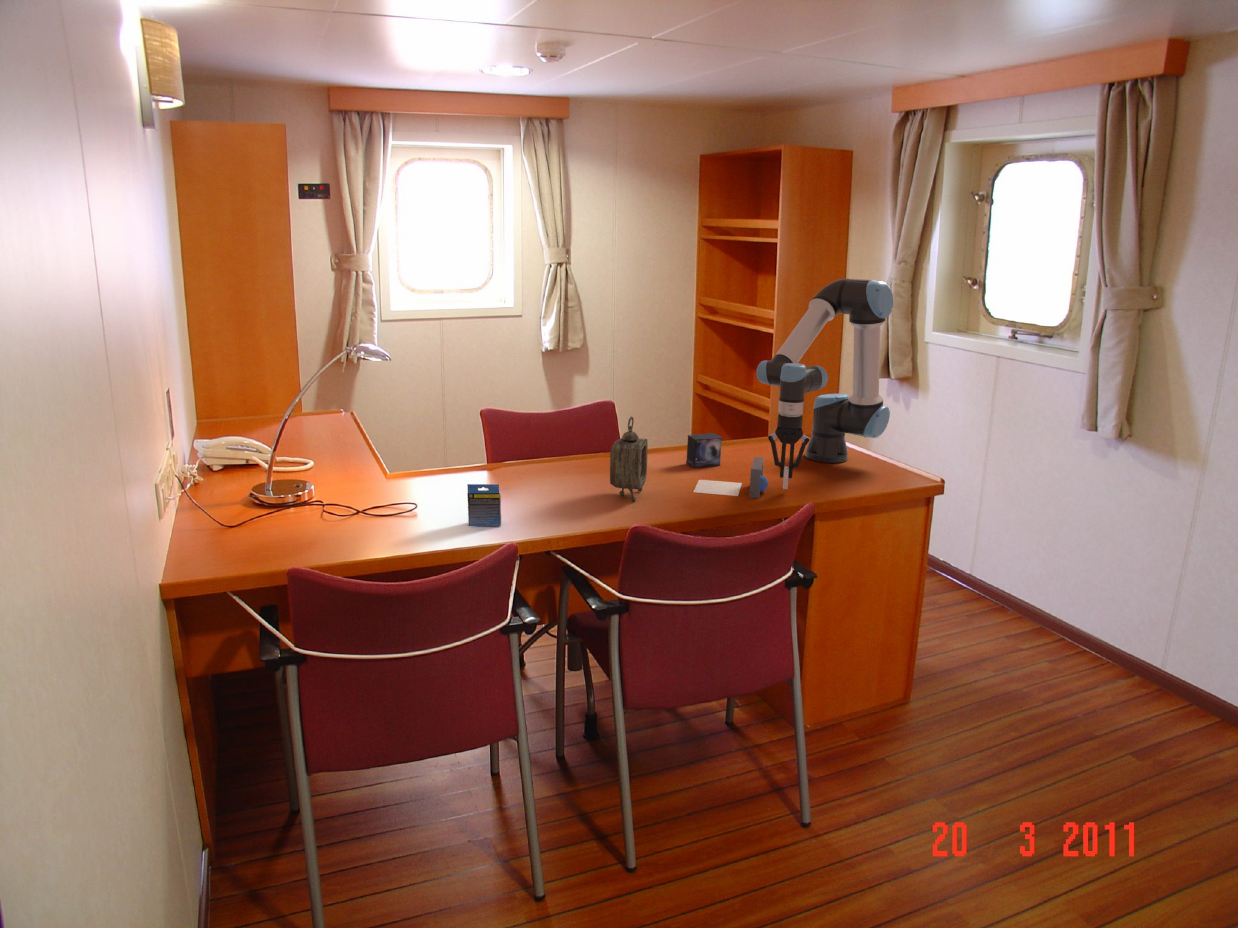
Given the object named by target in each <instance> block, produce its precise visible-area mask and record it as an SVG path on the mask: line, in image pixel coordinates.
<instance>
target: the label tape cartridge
mask: <svg viewBox="0 0 1238 928" xmlns="http://www.w3.org/2000/svg"><path fill="white" fill-rule="evenodd" d="M483 488H484V489H485V490H484V489H483ZM480 489H483V490H480ZM486 489H487V490H486ZM466 494H467V511H468V512H467V515H468V522H467V523H468V527H469V526H477V527H497V526H500V527H501V525H502V498H501V496H502V495H501V493H500V485H499V484H495V483H493V484H488V483H486V484H483V483H482V484H479V483H477V484H475V483H473V484H472V483H469V484H468V483H467V493H466Z"/></svg>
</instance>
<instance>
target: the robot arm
mask: <svg viewBox="0 0 1238 928" xmlns="http://www.w3.org/2000/svg"><path fill="white" fill-rule="evenodd" d="M893 294H894V293H893V290H892V289H891V287H890V286H889V285H888V283H886V282H885V281H878V280H875V279H861V278H860V279H856V278H846V277H845V278H841V279H836V280H834V281H832V282H830V283H827V285H825V286H824V287H822V288H821V289H820V290H819V291H818V292H816V294H815V295H814V296H813V297H812V298H811V300H810V301H809V303H808V309H807V310H806V312H805V313H804V315H803V316H802V317H801V318H800V320H799V321H798V323H797V324H796V325H795V327H794V328H793V330H792V331H791V332H790V334H789V335H788V337H787V338H786V339H785V341H784V343H783V344H782V345H781V346H780V348H779V349H778V351H777V352H776V353H775V355H773V356H772V358H771V360H768V359H767V360H762V361H760V362H759V364H758V365H757V368H756V378H757V381H759V382H760V383H761V384H764V385H768V386H776V387H779V398H778V409H777V410H778V413H779V414H778V415H777V424H776V425H777V426H776V429H775V431H774V432H772V433H769V434H767V435H768V436H767V439H768V441H769V443H770V446H771V452H772V457H773V462H774V465H775V466H776V467H779V468H780V469H779V478H781V479H782V489H783V490H788V488H789V487H788V486H789V485H788V484H789V479H792V478H793V472H794V470H793V469H794V468H799V466H800V464H801V460H802V458H803V455H805V457H806V458H807V459H808V460H810V461H813V462H814V461H815V462H819V463H830V464H831V463H832V464H837V463H844V462H846V461H848V459H849V451H848V447H847V446H848V445H847V443H846V442H847V441H846V437H845V436H846V434H849V435H853V436H859V437H864V438H870V439H871V438H872V439H877V438H879V437H880V436H881V435H883V433H884V432H885V431H886V428H887V427H888V424H889V421H890V417H891V411H890V408H889V407H888V406H886V405H884V398H883V397H882V395H881V394H879V393H880V364H881V363H880V362H881V361H880V358H881V326H883V324H884V323H886V318H888V317H889V316H890V315H891V313H892V312H893V307H894V295H893ZM840 314H842V315H848V317H849V318H848V320H849V321H848V322H849V324H851V326H853V355H852V356H853V359H852V360H853V361H852V365H853V366H852V367H853V369H852V394H851V395H850V396H849V395H848V394H845V393H827V394H821V395H818V396H816V398H815V399H814V403H813V408H812V409H813V416H812V427H811V428H812V429H811V437H809V436H807V435H805V434H804V431H803V422H804V421H803V419H804V417H803V414H804V405H805V404H804V403H805V393H810V392H816V391H818V390H821V389H823V388H824V387H825V386H826V385H827V383H828V381H829V376H828V373H827V372H828V371H827V370H826V369H825V368H824V367H823V366H820V365H811V366H806V364H803V363H799V362H800V360H801V359H802V358H803V356H804V355H805V354H806V352H807V351H808V350H809V348H810V347H811V345H812V343H814V341H815V339H816V338H817V337H818V336H819V334H820V333H821V331H822V330H823V329H824V327H825V326H826V324H827V323H828V322H830V321H833V320H834V318H835V317H836V316H837V315H840ZM776 439H778V440H779V442H780V443H781V451H780V452H781V453H780V458H779V455H778V448H777V443H776ZM800 439H801V442H802V443H801V445H800V447H799V451H798V453H797V456H796V459H795V462H794V458H795V444H796V443H798V441H800ZM787 445H790V447H789V448H790V449H789V461H788V466H785V464H786V451H787ZM804 452H805V454H804ZM779 459H780V461H779Z"/></svg>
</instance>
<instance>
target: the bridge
mask: <svg viewBox="0 0 1238 928" xmlns="http://www.w3.org/2000/svg"><path fill="white" fill-rule="evenodd" d="M764 459H765V458H764V457H760V456H759V457H758V456H754V458H753V461H752V464H751V468H750V478H749V481H750V482H749V495H748V496H749V497H748V498H750V499H751V498H753V499H760V495H761V492H760V480H761V475H763V474H764ZM763 476H764V475H763Z"/></svg>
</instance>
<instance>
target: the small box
mask: <svg viewBox="0 0 1238 928" xmlns="http://www.w3.org/2000/svg"><path fill="white" fill-rule="evenodd" d="M722 439H723V437H722V436H720V435H718V434H716V433H715V432H710V433H697V434H688V435H687V446H686V447H687V448H686V449H687V450H686V462H685V464H687V465H688V466H690V467H692V468H693V469H697V468H699V469H700V468H708V467H710V468H711V467H721V459H722V458H721V457H722V455H721V454H722Z"/></svg>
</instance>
